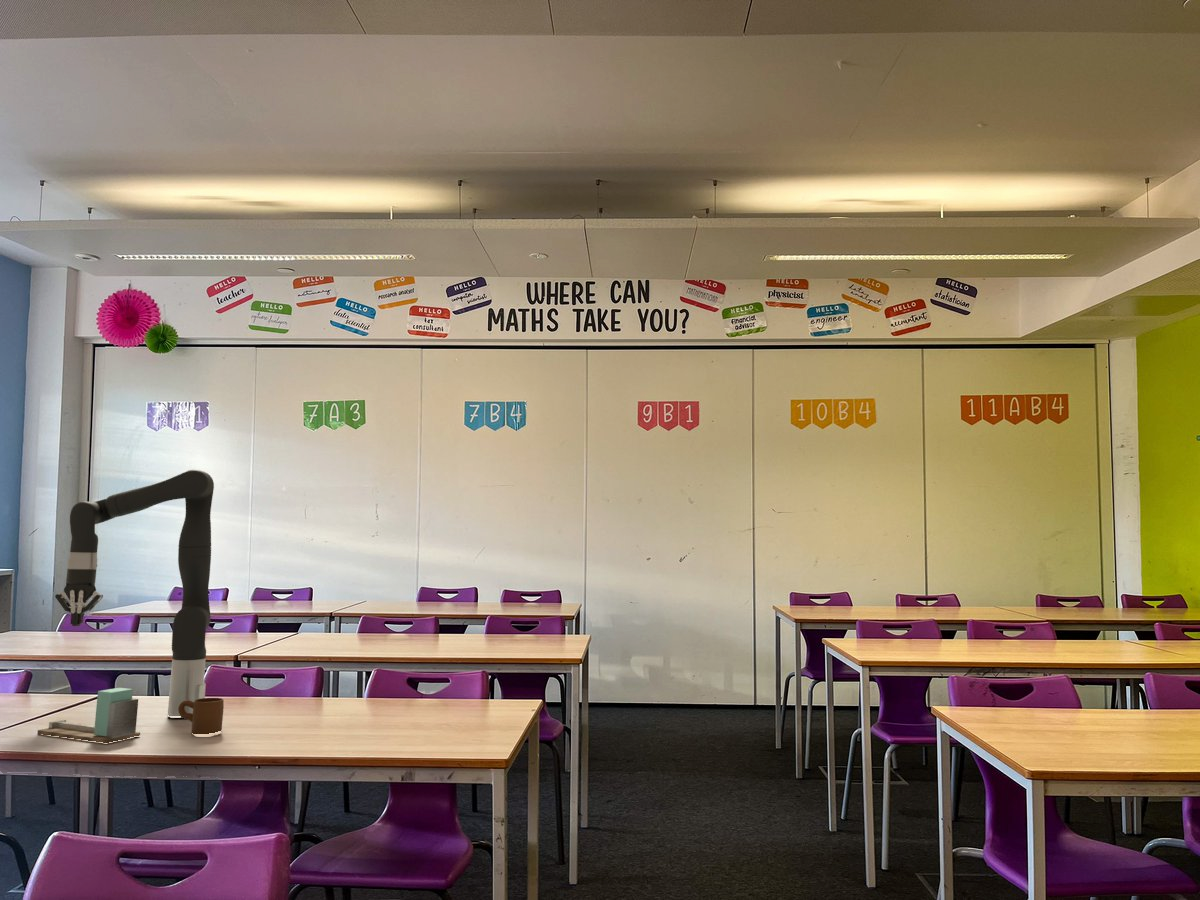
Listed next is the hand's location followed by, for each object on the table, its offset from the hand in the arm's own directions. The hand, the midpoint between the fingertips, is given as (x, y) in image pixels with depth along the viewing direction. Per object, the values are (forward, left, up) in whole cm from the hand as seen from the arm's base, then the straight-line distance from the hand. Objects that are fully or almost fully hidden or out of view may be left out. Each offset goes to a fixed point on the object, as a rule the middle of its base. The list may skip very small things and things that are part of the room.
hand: (76, 625), depth 248 cm
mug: (-44, +24, -27) cm, 57 cm away
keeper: (-23, +28, -26) cm, 45 cm away
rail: (-16, +24, -26) cm, 39 cm away
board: (-16, +24, -27) cm, 40 cm away
